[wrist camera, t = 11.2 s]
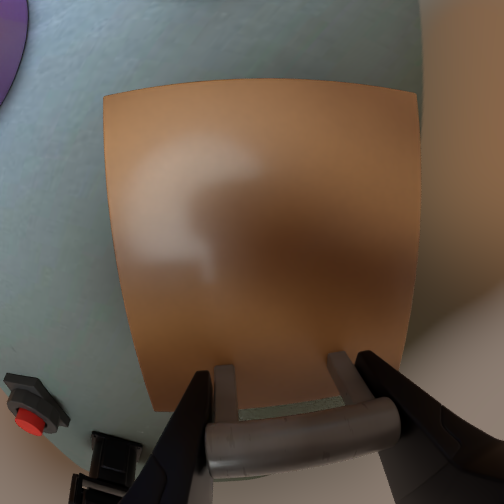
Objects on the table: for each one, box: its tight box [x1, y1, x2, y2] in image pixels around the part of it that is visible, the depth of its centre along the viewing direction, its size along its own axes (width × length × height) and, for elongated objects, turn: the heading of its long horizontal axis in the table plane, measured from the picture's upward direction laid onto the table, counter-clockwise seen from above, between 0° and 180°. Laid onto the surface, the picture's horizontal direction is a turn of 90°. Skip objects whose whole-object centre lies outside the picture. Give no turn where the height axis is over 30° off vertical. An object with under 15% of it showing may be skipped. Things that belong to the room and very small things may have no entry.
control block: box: [3, 373, 70, 434], centre depth 23 cm, size 8×6×3 cm
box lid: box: [103, 78, 421, 478], centre depth 7 cm, size 11×10×5 cm
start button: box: [15, 408, 45, 436], centre depth 21 cm, size 3×3×2 cm
